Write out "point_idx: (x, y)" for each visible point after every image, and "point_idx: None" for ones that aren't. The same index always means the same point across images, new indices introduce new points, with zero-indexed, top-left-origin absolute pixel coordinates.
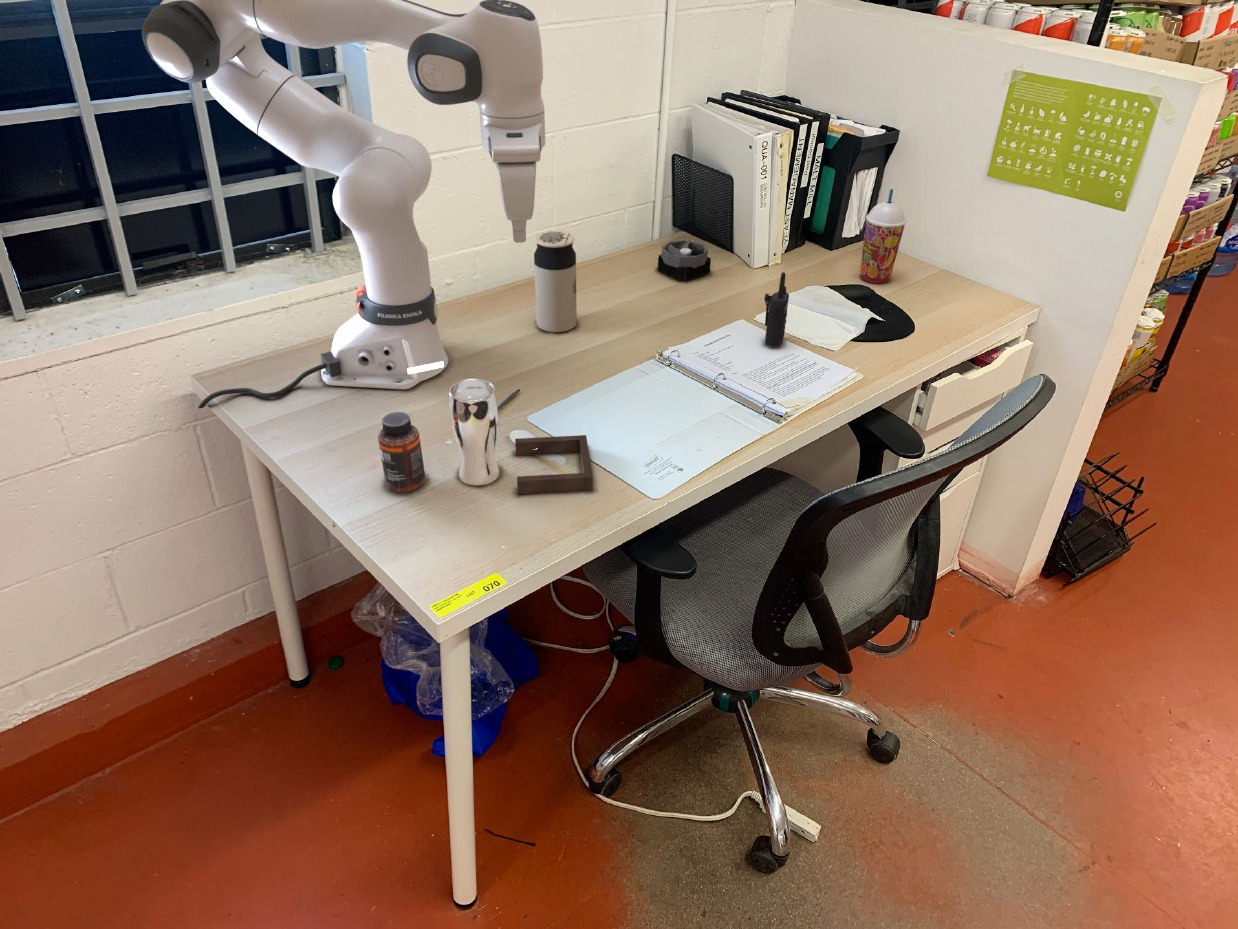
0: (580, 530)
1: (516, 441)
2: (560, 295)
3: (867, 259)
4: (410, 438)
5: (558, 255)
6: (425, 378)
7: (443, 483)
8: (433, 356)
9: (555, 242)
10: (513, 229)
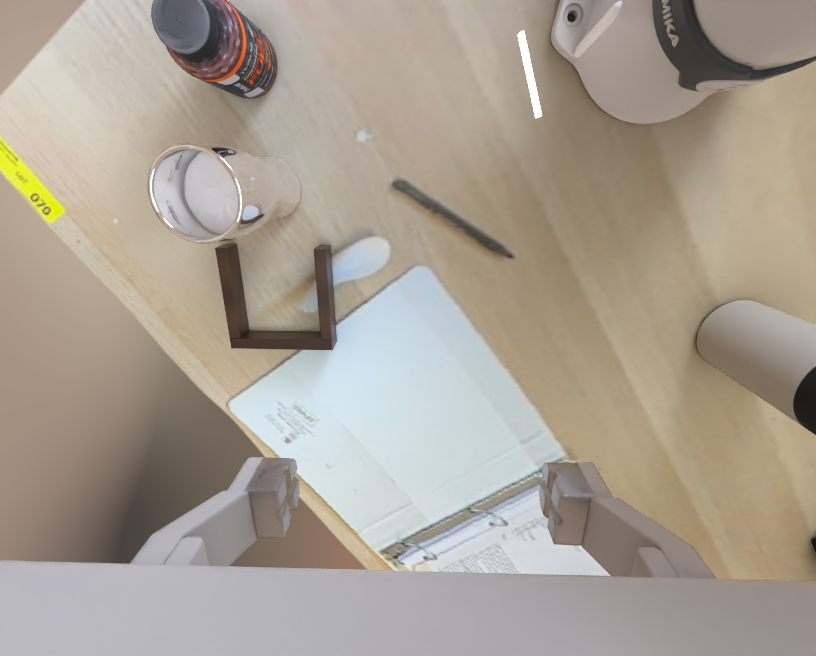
0: (159, 317)
1: (317, 250)
2: (747, 370)
3: None
4: (177, 61)
5: None
6: (581, 77)
7: (248, 130)
8: (620, 91)
9: None
10: (214, 499)
